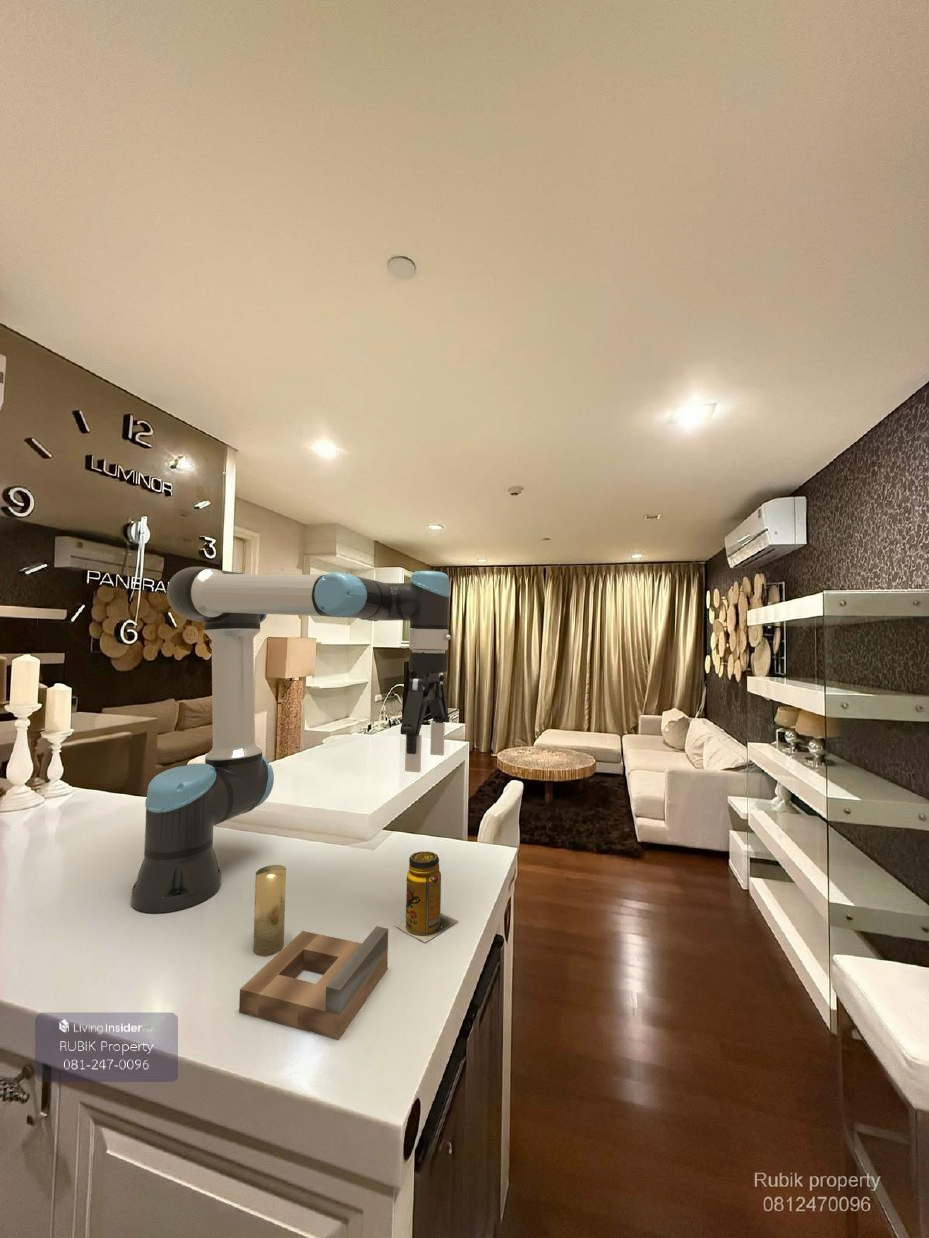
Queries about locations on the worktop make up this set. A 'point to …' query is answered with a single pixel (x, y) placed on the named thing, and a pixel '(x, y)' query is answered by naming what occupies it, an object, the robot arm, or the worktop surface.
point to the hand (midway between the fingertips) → (425, 762)
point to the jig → (332, 996)
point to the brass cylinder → (269, 910)
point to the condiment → (424, 898)
